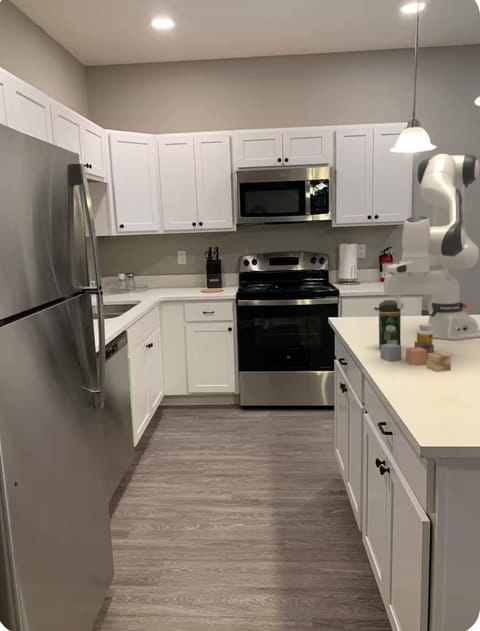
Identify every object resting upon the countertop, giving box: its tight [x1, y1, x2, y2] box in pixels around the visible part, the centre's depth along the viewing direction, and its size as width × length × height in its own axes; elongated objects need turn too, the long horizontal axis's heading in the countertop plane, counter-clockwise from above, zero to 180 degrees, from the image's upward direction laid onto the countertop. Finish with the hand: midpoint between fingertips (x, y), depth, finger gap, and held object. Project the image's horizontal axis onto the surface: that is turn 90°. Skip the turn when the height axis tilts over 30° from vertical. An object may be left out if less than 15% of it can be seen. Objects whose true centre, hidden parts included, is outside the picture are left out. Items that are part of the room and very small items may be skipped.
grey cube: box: [380, 343, 402, 362], centre depth 171 cm, size 5×5×5 cm
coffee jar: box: [378, 299, 402, 350], centre depth 184 cm, size 10×8×19 cm
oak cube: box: [426, 351, 452, 373], centre depth 157 cm, size 5×5×5 cm
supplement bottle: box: [416, 323, 434, 344], centre depth 179 cm, size 5×5×10 cm
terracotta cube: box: [405, 346, 427, 367], centre depth 164 cm, size 5×5×5 cm
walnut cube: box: [414, 341, 435, 358], centre depth 171 cm, size 5×5×5 cm
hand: (414, 307), depth 162 cm, fingers open, 8 cm apart
